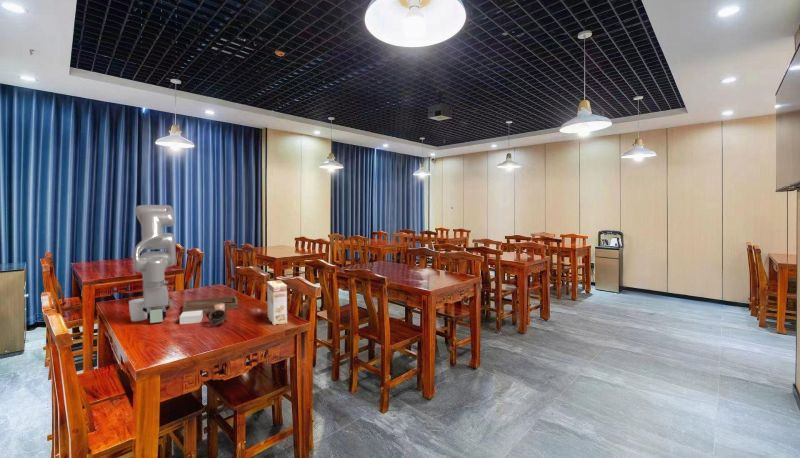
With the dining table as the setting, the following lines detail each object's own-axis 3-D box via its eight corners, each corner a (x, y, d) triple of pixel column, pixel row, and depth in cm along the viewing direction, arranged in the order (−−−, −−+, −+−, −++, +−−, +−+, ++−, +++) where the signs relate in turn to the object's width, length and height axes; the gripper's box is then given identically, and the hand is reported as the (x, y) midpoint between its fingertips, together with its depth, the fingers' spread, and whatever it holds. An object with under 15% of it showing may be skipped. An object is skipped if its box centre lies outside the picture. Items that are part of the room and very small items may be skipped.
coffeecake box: (287, 323, 180) (287, 285, 179) (273, 325, 177) (272, 286, 175) (281, 315, 193) (280, 279, 192) (267, 317, 189) (266, 281, 188)
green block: (151, 319, 180) (151, 308, 180) (163, 318, 183) (163, 307, 182) (150, 323, 176) (149, 311, 175) (162, 321, 178) (162, 309, 178)
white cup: (138, 322, 180) (137, 302, 179) (125, 321, 181) (124, 301, 181) (152, 317, 187) (151, 298, 187) (139, 316, 189) (138, 298, 188)
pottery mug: (233, 322, 183) (231, 310, 179) (220, 335, 175) (218, 324, 171) (212, 314, 185) (210, 303, 181) (199, 327, 177) (196, 316, 173)
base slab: (183, 319, 186) (182, 312, 185) (202, 317, 189) (202, 310, 189) (179, 325, 177) (179, 317, 177) (200, 322, 181) (200, 315, 181)
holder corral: (184, 307, 207) (184, 301, 207) (236, 301, 220) (235, 295, 220) (182, 315, 192) (182, 308, 192) (237, 308, 205) (237, 302, 205)
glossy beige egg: (214, 312, 197) (214, 304, 196) (224, 311, 199) (224, 302, 199) (214, 315, 192) (214, 306, 192) (224, 314, 194) (224, 305, 194)
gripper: (176, 280, 185) (177, 315, 187) (136, 283, 177) (137, 319, 179) (175, 284, 178) (176, 319, 180) (133, 287, 170) (134, 324, 172)
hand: (157, 319), depth 179 cm, fingers closed on green block, 5 cm apart
